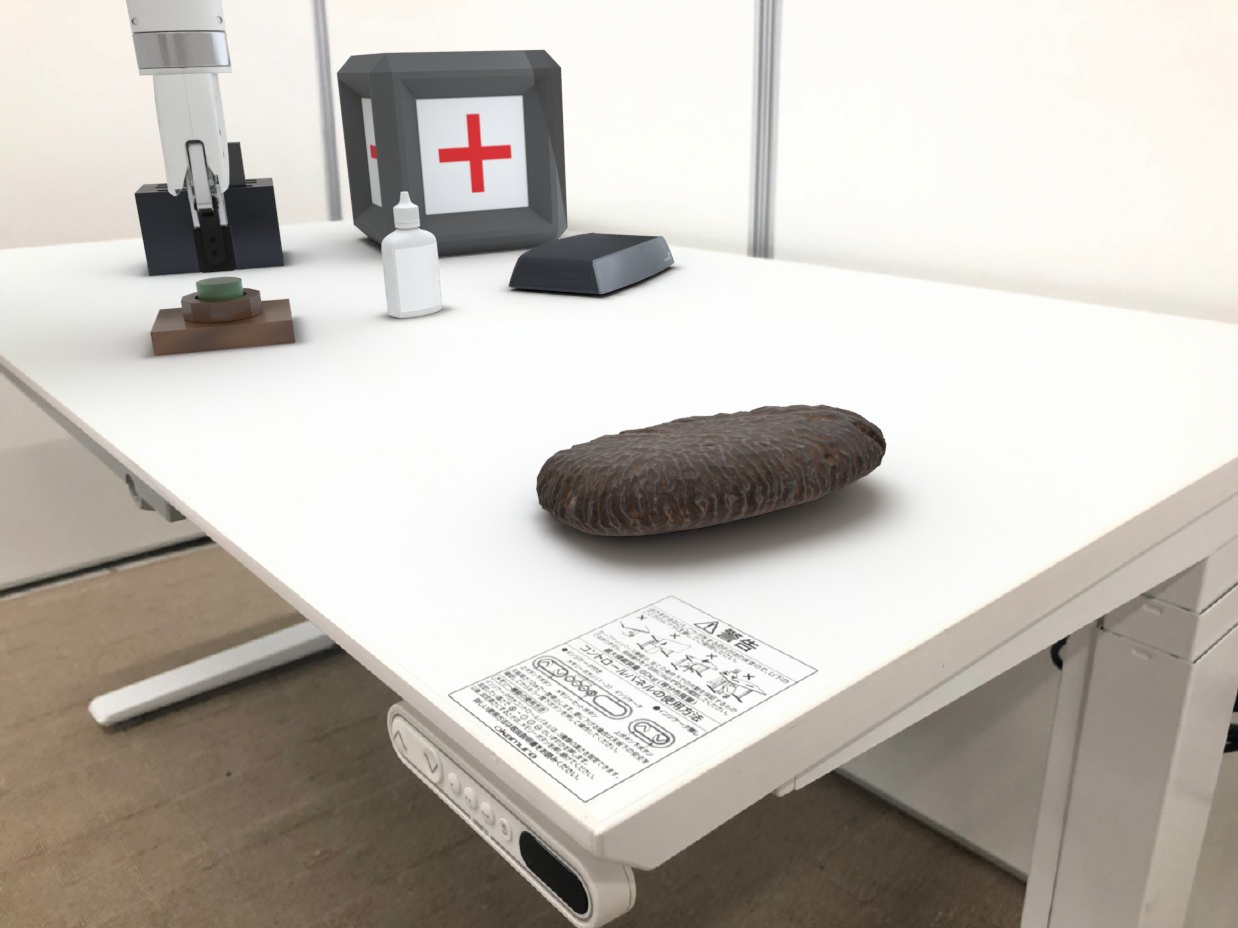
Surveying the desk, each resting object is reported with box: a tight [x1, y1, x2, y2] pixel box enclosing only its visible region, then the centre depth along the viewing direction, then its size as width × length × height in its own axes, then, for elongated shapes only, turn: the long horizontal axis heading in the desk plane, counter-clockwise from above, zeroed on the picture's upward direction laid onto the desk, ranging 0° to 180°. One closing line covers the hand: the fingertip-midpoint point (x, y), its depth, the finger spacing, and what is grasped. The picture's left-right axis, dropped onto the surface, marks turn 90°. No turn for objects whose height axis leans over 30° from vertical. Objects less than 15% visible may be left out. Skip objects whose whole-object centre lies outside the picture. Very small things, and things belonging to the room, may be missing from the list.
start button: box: [195, 276, 244, 301], centre depth 98 cm, size 4×4×2 cm
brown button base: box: [149, 287, 296, 357], centre depth 99 cm, size 12×10×4 cm
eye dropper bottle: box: [380, 192, 443, 319], centre depth 105 cm, size 4×6×12 cm
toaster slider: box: [227, 141, 246, 186], centre depth 130 cm, size 2×2×5 cm
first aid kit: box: [336, 49, 569, 257], centre depth 145 cm, size 25×25×25 cm
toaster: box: [133, 177, 285, 277], centre depth 135 cm, size 16×11×10 cm
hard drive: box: [508, 232, 675, 295], centre depth 121 cm, size 13×19×4 cm
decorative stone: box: [535, 403, 887, 537], centre depth 59 cm, size 20×14×5 cm
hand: (218, 270), depth 97 cm, fingers closed
